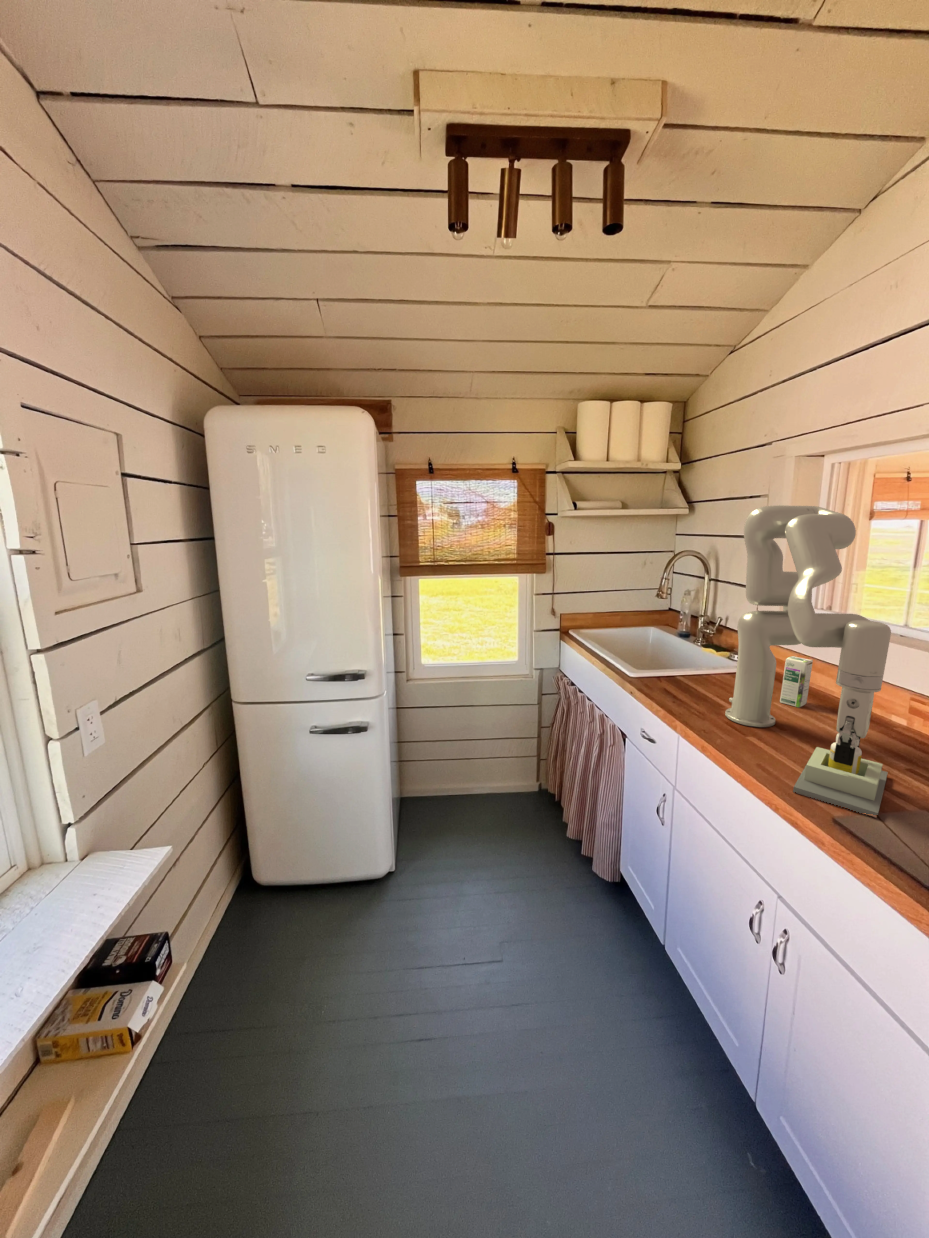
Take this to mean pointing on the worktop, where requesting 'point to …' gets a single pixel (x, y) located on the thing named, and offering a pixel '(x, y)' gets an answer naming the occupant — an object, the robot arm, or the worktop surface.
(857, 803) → the socket board
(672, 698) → the worktop surface
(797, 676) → the syrup box
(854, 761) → the supplement bottle
